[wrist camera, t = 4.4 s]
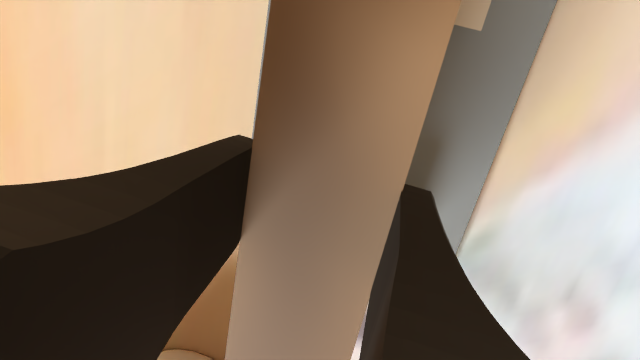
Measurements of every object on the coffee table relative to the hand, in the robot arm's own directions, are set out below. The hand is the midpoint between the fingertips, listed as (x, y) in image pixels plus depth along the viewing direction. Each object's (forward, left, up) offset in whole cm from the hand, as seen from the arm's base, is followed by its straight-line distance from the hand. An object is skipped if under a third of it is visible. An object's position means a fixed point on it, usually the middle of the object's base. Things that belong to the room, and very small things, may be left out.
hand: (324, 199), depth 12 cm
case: (0, 0, -4) cm, 4 cm away
